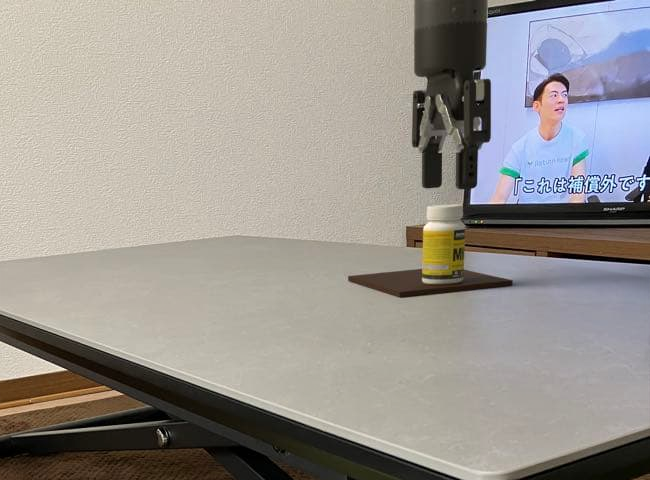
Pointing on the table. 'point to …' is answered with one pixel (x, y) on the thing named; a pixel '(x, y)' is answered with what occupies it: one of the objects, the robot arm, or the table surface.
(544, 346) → the table surface
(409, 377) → the table surface
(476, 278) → the mat
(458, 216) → the supplement bottle
